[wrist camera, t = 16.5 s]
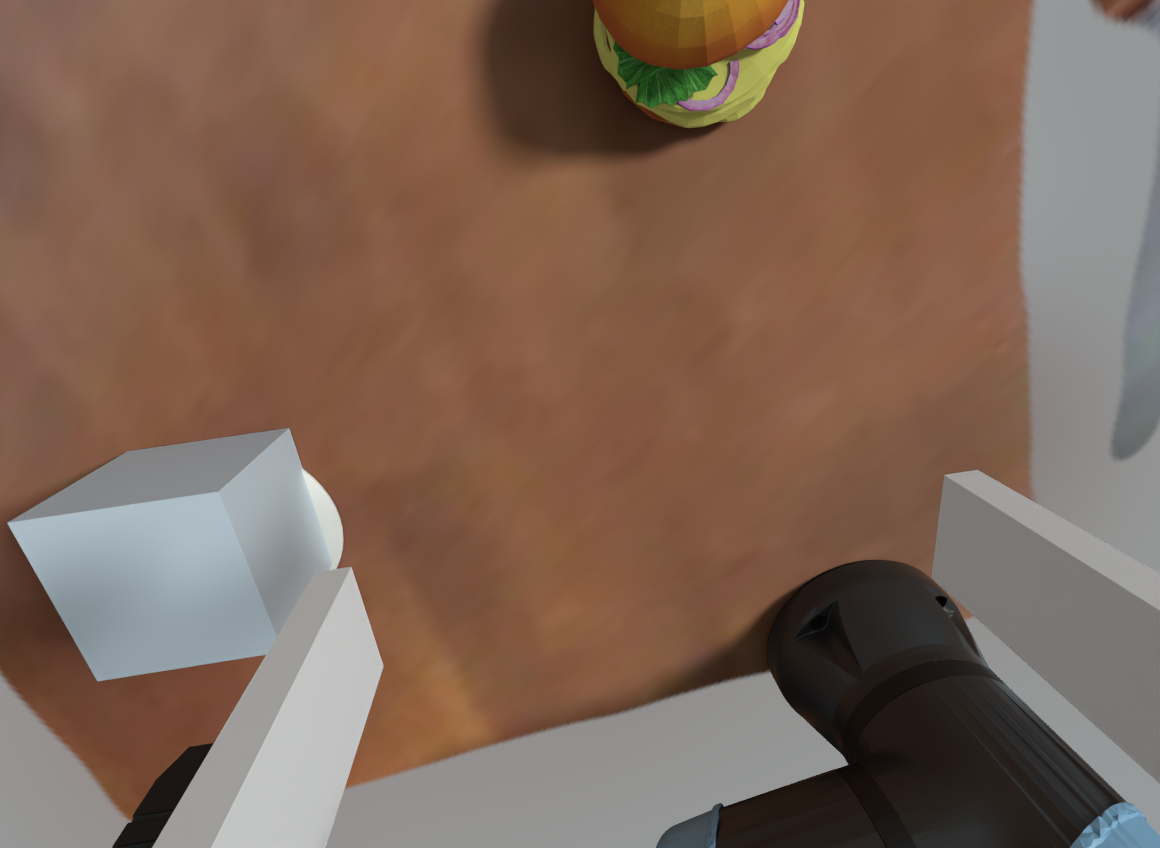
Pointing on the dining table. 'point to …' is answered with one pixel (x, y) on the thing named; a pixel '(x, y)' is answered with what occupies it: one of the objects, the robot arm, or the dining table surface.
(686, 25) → the cheeseburger
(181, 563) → the pale blue cuboid
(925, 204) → the dining table surface
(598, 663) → the dining table surface
